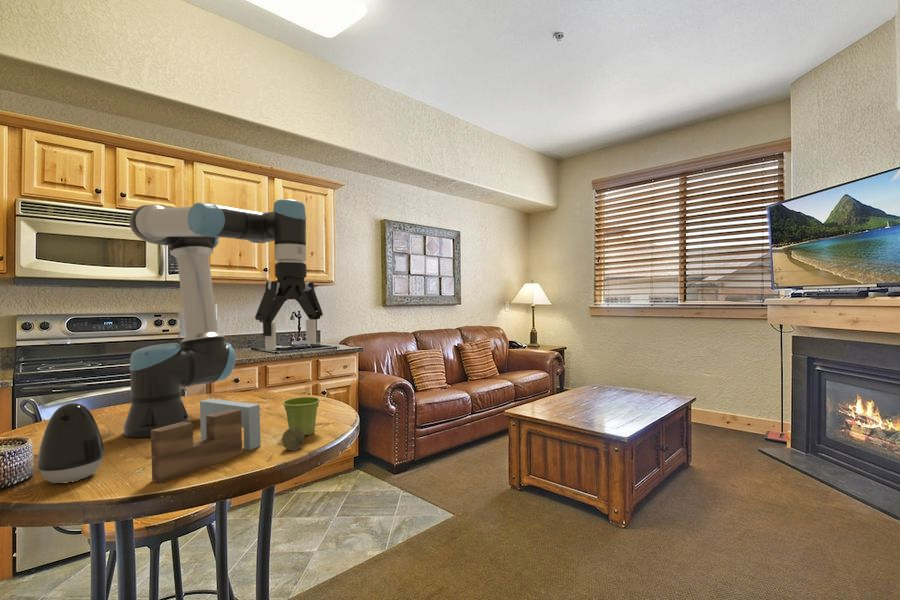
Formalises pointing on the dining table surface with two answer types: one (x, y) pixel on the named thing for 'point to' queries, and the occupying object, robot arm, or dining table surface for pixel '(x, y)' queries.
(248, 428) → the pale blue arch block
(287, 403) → the plant pot
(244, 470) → the dining table surface
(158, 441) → the brown notched board
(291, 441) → the dark grey round lump
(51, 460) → the black two-tone rounded device
